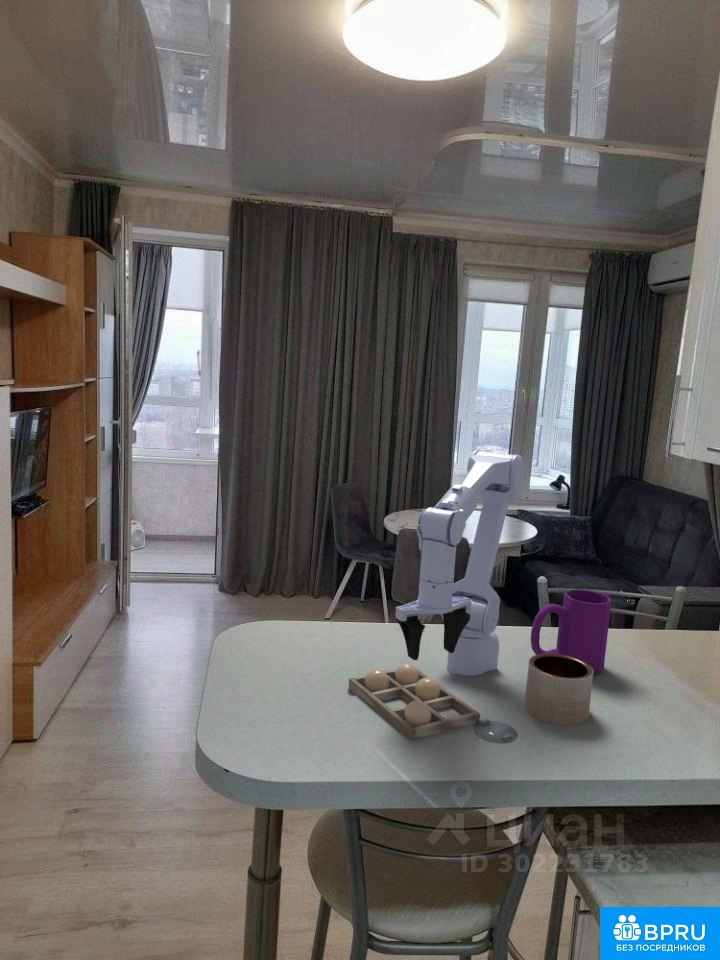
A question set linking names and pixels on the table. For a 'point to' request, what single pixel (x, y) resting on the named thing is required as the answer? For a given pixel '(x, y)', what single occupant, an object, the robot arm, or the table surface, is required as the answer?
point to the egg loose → (427, 689)
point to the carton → (408, 695)
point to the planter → (558, 689)
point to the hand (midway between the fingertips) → (431, 654)
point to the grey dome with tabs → (495, 731)
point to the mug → (578, 627)
